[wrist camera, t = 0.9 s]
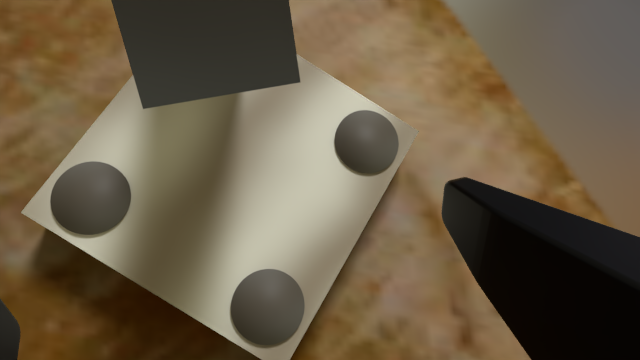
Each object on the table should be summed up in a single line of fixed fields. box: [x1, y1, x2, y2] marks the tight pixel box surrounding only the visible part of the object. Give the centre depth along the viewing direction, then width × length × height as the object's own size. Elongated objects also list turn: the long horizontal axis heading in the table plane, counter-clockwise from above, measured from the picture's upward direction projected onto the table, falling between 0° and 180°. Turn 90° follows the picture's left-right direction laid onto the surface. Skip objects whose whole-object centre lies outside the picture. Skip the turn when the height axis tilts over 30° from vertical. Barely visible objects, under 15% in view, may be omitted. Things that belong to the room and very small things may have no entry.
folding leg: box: [112, 0, 300, 109], centre depth 14 cm, size 3×3×12 cm
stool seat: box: [21, 54, 419, 360], centre depth 20 cm, size 13×13×3 cm
